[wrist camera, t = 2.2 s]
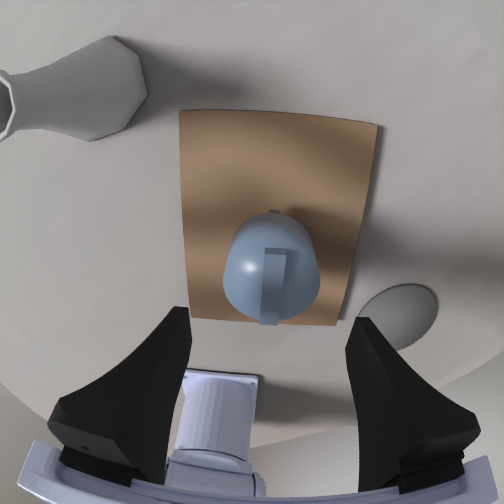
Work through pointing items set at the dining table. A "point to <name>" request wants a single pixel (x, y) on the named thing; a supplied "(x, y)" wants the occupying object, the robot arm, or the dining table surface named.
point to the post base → (271, 196)
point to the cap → (271, 269)
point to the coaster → (402, 313)
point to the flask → (75, 93)
